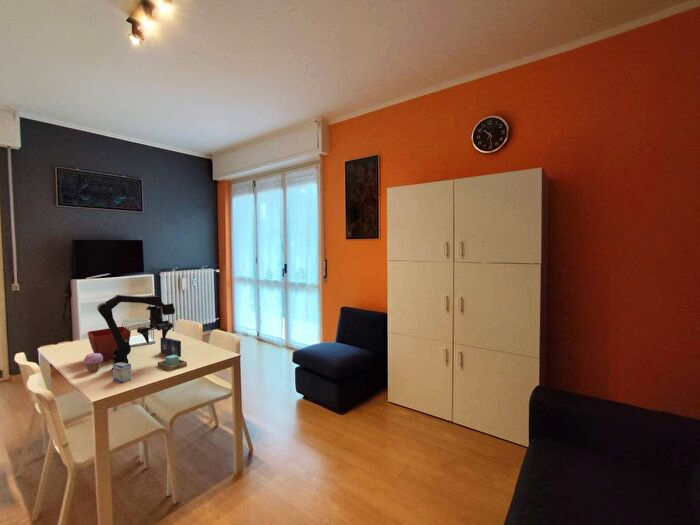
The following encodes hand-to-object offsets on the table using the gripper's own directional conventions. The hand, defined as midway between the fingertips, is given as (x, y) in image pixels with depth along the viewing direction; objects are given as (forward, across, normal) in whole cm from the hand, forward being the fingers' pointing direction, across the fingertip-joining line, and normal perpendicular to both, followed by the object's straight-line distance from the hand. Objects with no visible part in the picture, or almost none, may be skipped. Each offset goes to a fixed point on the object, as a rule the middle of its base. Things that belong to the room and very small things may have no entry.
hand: (155, 341), depth 204 cm
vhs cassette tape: (+12, +12, +6) cm, 18 cm away
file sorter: (+12, +14, +55) cm, 58 cm away
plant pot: (+12, -13, +31) cm, 36 cm away
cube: (+11, +1, -16) cm, 20 cm away
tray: (+12, +1, -16) cm, 20 cm away
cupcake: (+12, -28, +12) cm, 33 cm away
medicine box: (+12, -25, -16) cm, 32 cm away
